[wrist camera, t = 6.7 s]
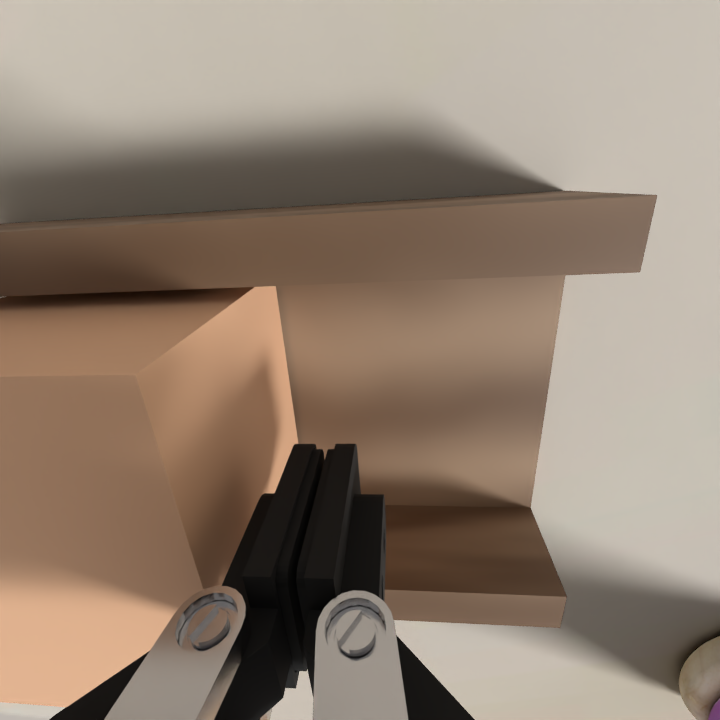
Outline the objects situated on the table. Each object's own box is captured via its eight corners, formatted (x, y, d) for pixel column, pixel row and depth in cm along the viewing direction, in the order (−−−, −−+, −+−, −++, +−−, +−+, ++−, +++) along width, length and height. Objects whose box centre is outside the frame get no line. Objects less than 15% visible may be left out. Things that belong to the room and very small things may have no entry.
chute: (4, 223, 15) (-170, 241, 10) (565, 190, 13) (657, 195, 8) (117, 509, 20) (37, 602, 16) (519, 518, 18) (560, 627, 14)
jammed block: (56, 282, 14) (-284, 380, 7) (273, 273, 13) (135, 374, 6) (135, 498, 18) (-31, 699, 11) (306, 501, 17) (244, 720, 10)
